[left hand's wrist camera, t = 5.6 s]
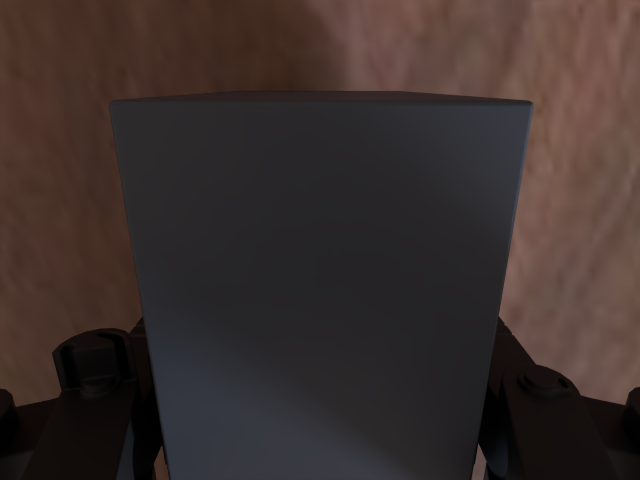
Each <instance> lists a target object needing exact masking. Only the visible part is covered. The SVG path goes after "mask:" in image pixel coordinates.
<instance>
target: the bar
mask: <svg viewBox="0 0 640 480" xmlns="http://www.w3.org/2000/svg"><path fill="white" fill-rule="evenodd" d="M109 109H110V116H111V122H112V128H113V134H114V140H115V147H116V153H117V159H118V165H119V171H120V177H121V184H122V190H123V196H124V202H125V208H126V214H127V221H128V227H129V233H130V239H131V245H132V251H133V258H134V264H135V270H136V276H137V282H138V288H139V295H140V301H141V307H142V313H143V319H144V326H145V332H146V338H147V344H148V350H149V356H150V363H151V369H152V375H153V381H154V387H155V393H156V400H157V406H158V412H159V418H160V424H161V430H162V437H163V443H164V449H165V455H166V461H167V468H168V474H169V480H471V479H472V473H473V467H474V461H475V455H476V449H477V443H478V437H479V431H480V424H481V418H482V412H483V406H484V400H485V394H486V388H487V382H488V376H489V370H490V364H491V358H492V352H493V346H494V340H495V334H496V328H497V322H498V316H499V310H500V304H501V298H502V292H503V286H504V280H505V274H506V268H507V262H508V256H509V250H510V244H511V238H512V232H513V226H514V220H515V214H516V208H517V202H518V196H519V190H520V184H521V178H522V172H523V166H524V160H525V154H526V148H527V142H528V136H529V130H530V124H531V118H532V112H533V103H532V102H530V101H526V100H512V99H499V98H485V97H471V96H458V95H444V94H431V93H417V92H403V91H234V92H220V93H206V94H192V95H178V96H164V97H151V98H137V99H123V100H113V101H111V102H110V103H109Z"/></svg>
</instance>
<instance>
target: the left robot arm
mask: <svg viewBox="0 0 640 480" xmlns="http://www.w3.org/2000/svg"><path fill="white" fill-rule="evenodd" d="M52 355H53V359H54V363H55V367H56V371H57V375H58V378H59V382H60V386H61V390H62V391H61V394H60V396H59V398H55V399H51V400H47V401H42V402H38V403H33V404H28V405H23V406H19V407H16V406H15V403H14V400H13V397H12V394H10V393H9V392H8V391H7V390H5V389H0V480H156V474H155V468H154V462H155V459H156V457H157V455H158V453H159V450H160V448H161V446H163V452H164V458H165V464H167V461H166V455H165V449H164V443H163V437H162V430H161V424H160V418H159V412H158V406H157V400H156V393H155V387H154V381H153V375H152V369H151V363H150V356H149V350H148V344H147V338H146V332H145V326H144V319H143V316H142V318H141V319H140V320H139V322H138V323H137V324H136V327H134V328H133V330H132V331H131V332H130V333H129V334H128V333H127V332H126V331H124V330H120V329H115V328H105V329H97V330H92V331H87V332H84V333H81V334H79V335H76V336H74V337H71V338H70V339H68V340H66V341H65V342H63V343H62V344H60V345H59V346H58V347H57V348H56V349H55V350H54V351H53V353H52ZM478 443H479V445H480V447H481V450H482V452H483V454H484V457H485V459H486V461H487V462H486V468H485V473H484V479H483V480H640V387H636V388H634V389H633V390H632V391H631V392H629V395H628V398H627V401H626V404H625V405H621V404H617V403H612V402H607V401H602V400H597V399H592V398H589V397H585V396H581V395H580V393H579V391H578V389H577V388H576V387H575V385H574V384H573V383H572V381H570V380H569V379H568V378H566V377H565V376H563V375H562V374H561V373H559V372H556V371H554V370H552V369H550V368H548V367H544V366H540V365H536V364H535V362H534V361H533V360H532V359H531V357H530V356H529V355H528V353H527V352H526V351H525V349H524V348H523V347H522V346H521V344H520V343H519V342H518V340H517V339H516V338H515V336H514V335H512V333H511V331H510V330H509V329H508V327H507V326H505V325H504V322H503V321H502V320H501V318H500V317H499V316H498V322H497V328H496V334H495V340H494V346H493V352H492V358H491V364H490V370H489V376H488V382H487V388H486V394H485V400H484V406H483V412H482V418H481V424H480V431H479V437H478ZM478 443H477V448H478ZM476 454H477V449H476ZM475 460H476V455H475ZM474 464H475V461H474Z"/></svg>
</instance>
